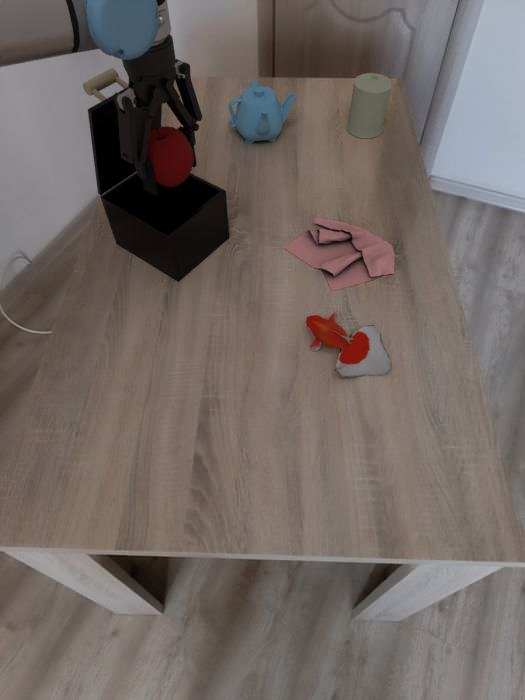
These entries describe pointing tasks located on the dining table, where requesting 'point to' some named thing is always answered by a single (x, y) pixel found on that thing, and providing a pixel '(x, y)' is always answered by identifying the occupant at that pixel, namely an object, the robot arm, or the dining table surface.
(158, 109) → the lid
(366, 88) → the can
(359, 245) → the cloth
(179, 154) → the apple
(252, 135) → the teapot
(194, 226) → the box
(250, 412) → the dining table surface
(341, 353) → the fish
